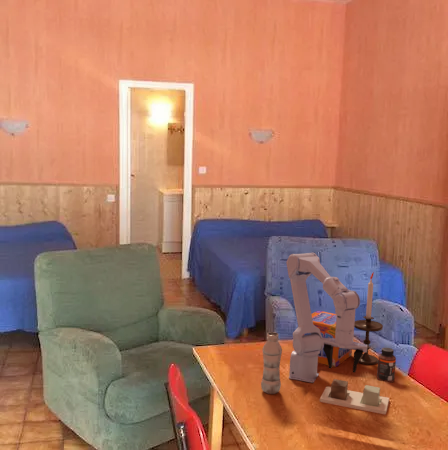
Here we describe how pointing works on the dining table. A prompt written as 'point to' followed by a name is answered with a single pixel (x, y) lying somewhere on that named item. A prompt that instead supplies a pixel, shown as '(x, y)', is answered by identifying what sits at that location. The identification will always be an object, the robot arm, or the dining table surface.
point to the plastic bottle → (271, 364)
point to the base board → (355, 401)
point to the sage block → (371, 395)
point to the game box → (328, 330)
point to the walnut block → (339, 389)
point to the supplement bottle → (386, 365)
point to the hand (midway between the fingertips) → (342, 369)
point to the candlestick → (368, 327)
